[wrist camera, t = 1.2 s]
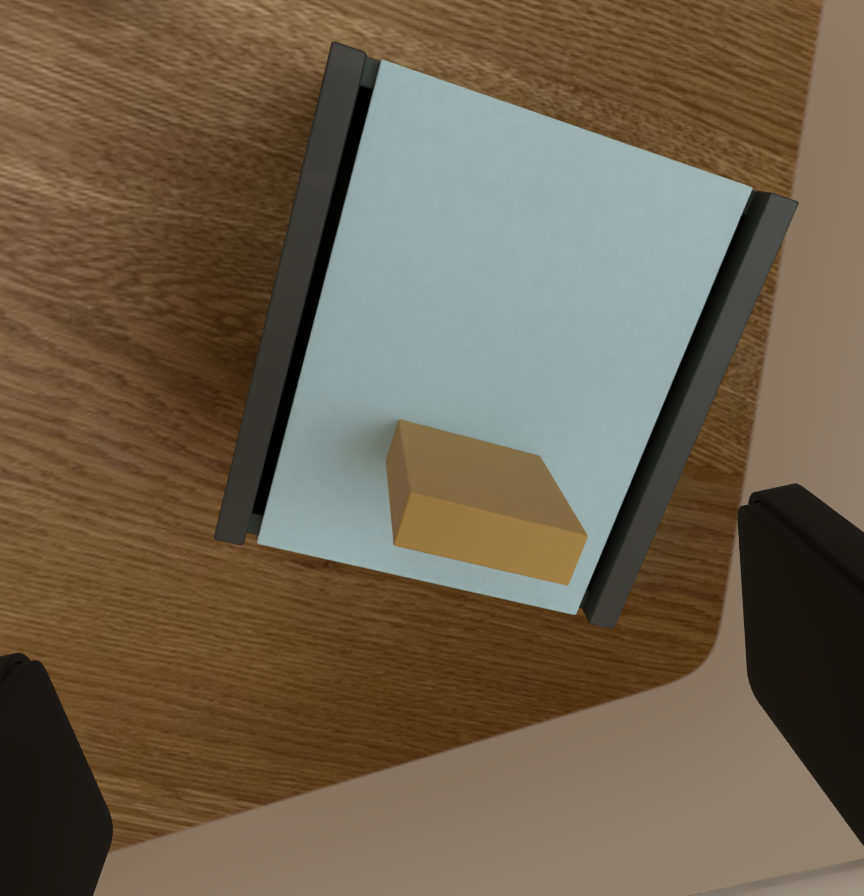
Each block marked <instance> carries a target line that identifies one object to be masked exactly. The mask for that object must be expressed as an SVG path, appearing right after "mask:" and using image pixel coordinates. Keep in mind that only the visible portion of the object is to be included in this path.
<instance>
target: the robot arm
mask: <svg viewBox="0 0 864 896" xmlns="http://www.w3.org/2000/svg"><path fill="white" fill-rule="evenodd" d="M738 534H739V550H740V565H741V581H742V597H743V614H744V628H745V646H746V661H747V674H748V679H749V683H750V686H751V689H752V691H753V693H754V696H755V697H756V699H757V700H758V702H759V704H760V705H761V706H762V707H763V709H764V710H765V712H766V713H767V714H768V716H769V717H770V719H771V720H772V721H773V723H774V724H775V725H776V727H777V728H778V729H779V731H780V732H781V733H782V735H783V736H784V738H785V739H786V740H787V742H788V743H789V745H790V746H791V747H792V749H793V750H794V751H795V753H796V754H797V756H798V757H799V758H800V760H801V761H802V762H803V764H804V765H805V766H806V768H807V769H808V770H809V772H810V773H811V775H812V776H813V777H814V779H815V780H816V781H817V783H818V784H819V786H820V787H821V788H822V790H823V791H824V792H825V794H826V795H827V797H828V798H829V799H830V801H831V802H832V803H833V805H834V806H835V807H836V809H837V810H838V811H839V813H840V814H841V816H842V817H843V818H844V820H845V821H846V823H847V824H848V825H849V827H850V828H851V829H852V831H853V832H854V833H855V835H856V836H857V838H858V839H859V840H860V842H861V843H862V844H863V845H864V532H863V531H861V530H860V529H858V528H857V527H856V526H854V525H853V524H852V523H851V522H849V521H848V520H847V519H845V518H844V517H843V516H841V515H840V514H838V513H837V512H836V511H834V510H833V509H832V508H830V507H829V506H828V505H827V504H825V503H824V502H823V501H821V500H820V499H819V498H817V497H816V496H814V495H813V494H812V493H811V492H809V491H808V490H806V489H805V488H804V487H803V486H801V485H799V484H797V483H796V484H790V485H785V486H781V487H776V488H771V489H767V490H762V491H758V492H754V493H752V494H751V496H750V498H749V503H748V505H744V506H741V507H740V508H739V510H738ZM112 835H113V825H112V819H111V815H110V812H109V810H108V807H107V805H106V803H105V801H104V798H103V796H102V794H101V792H100V789H99V787H98V785H97V783H96V781H95V778H94V776H93V774H92V772H91V769H90V767H89V765H88V763H87V760H86V758H85V756H84V754H83V751H82V749H81V747H80V745H79V743H78V740H77V738H76V736H75V734H74V731H73V729H72V727H71V725H70V722H69V720H68V718H67V716H66V713H65V711H64V709H63V707H62V705H61V702H60V700H59V698H58V696H57V693H56V691H55V689H54V687H53V684H52V682H51V680H50V678H49V675H48V673H47V671H46V669H45V667H44V666H43V664H42V663H40V662H39V661H36V660H34V661H30V659H29V658H28V657H27V656H25V655H24V654H22V653H14V654H10V655H5V656H1V657H0V896H93V894H94V891H95V888H96V885H97V882H98V879H99V877H100V874H101V871H102V868H103V865H104V863H105V860H106V857H107V854H108V851H109V848H110V845H111V841H112ZM690 896H864V858H863V859H859V860H854V861H850V862H845V863H840V864H836V865H831V866H827V867H821V868H816V869H812V870H807V871H801V872H796V873H791V874H786V875H781V876H777V877H773V878H768V879H763V880H759V881H754V882H750V883H745V884H740V885H736V886H731V887H727V888H722V889H718V890H713V891H709V892H704V893H699V894H695V895H690Z"/></svg>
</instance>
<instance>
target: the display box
mask: <svg viewBox="0 0 864 896" xmlns="http://www.w3.org/2000/svg"><path fill="white" fill-rule="evenodd" d="M380 62H381V61H379V60H376V59H373V58H370V57H367V54H366V53H365V52H364V51H361V50H358V49H355V48H353V47H350V46H347V45H344V44H341V43H338V42H332V43H331V47H330V51H329V55H328V60H327V64H326V68H325V72H324V76H323V81H322V85H321V89H320V93H319V97H318V102H317V106H316V110H315V114H314V118H313V123H312V127H311V131H310V135H309V139H308V144H307V148H306V152H305V156H304V160H303V165H302V169H301V173H300V177H299V181H298V186H297V190H296V194H295V198H294V203H293V207H292V211H291V215H290V219H289V224H288V228H287V232H286V236H285V240H284V245H283V249H282V253H281V257H280V261H279V266H278V270H277V274H276V278H275V282H274V287H273V291H272V295H271V299H270V303H269V308H268V312H267V316H266V320H265V324H264V329H263V333H262V337H261V341H260V345H259V350H258V354H257V358H256V362H255V366H254V371H253V375H252V379H251V383H250V387H249V392H248V396H247V400H246V404H245V409H244V413H243V417H242V421H241V425H240V430H239V434H238V438H237V442H236V446H235V451H234V455H233V459H232V463H231V467H230V472H229V476H228V480H227V484H226V488H225V493H224V497H223V501H222V505H221V509H220V514H219V518H218V522H217V526H216V530H215V535H214V539H215V540H219V541H223V542H228V543H232V544H237V545H243V544H244V542H245V538H246V534H247V533H250V534H254V535H259V532H260V528H261V524H262V520H263V516H264V512H265V508H266V504H267V501H268V497H269V493H270V489H271V485H272V481H273V477H274V473H275V470H276V466H277V462H278V458H279V454H280V450H281V446H282V442H283V438H284V435H285V431H286V427H287V423H288V419H289V415H290V411H291V407H292V404H293V400H294V396H295V392H296V388H297V384H298V380H299V376H300V372H301V369H302V365H303V361H304V357H305V353H306V349H307V345H308V341H309V338H310V334H311V330H312V326H313V322H314V318H315V314H316V310H317V307H318V303H319V299H320V295H321V291H322V287H323V283H324V279H325V275H326V272H327V268H328V264H329V260H330V256H331V252H332V248H333V244H334V241H335V237H336V233H337V229H338V225H339V221H340V217H341V213H342V209H343V206H344V202H345V198H346V194H347V190H348V186H349V182H350V178H351V175H352V171H353V167H354V163H355V159H356V155H357V151H358V147H359V144H360V140H361V136H362V132H363V128H364V124H365V120H366V116H367V112H368V109H369V105H370V101H371V97H372V93H373V89H374V85H375V81H376V78H377V74H378V70H379V66H380ZM798 204H799V203H798V201H795V200H792V199H789V198H786V197H783V196H780V195H778V194H775V193H771V192H762V191H755V190H752V191H751V193H750V196H749V198H748V200H747V203H746V205H745V208H744V210H743V213H742V215H741V217H740V220H739V222H738V225H737V227H736V229H735V232H734V234H733V237H732V239H731V241H730V244H729V246H728V249H727V251H726V254H725V256H724V258H723V261H722V263H721V266H720V268H719V270H718V273H717V275H716V278H715V280H714V282H713V285H712V287H711V290H710V292H709V295H708V297H707V299H706V302H705V304H704V307H703V309H702V311H701V314H700V316H699V319H698V321H697V324H696V326H695V328H694V331H693V333H692V336H691V338H690V340H689V343H688V345H687V348H686V350H685V352H684V355H683V357H682V360H681V362H680V365H679V367H678V369H677V372H676V374H675V377H674V379H673V381H672V384H671V386H670V389H669V391H668V393H667V396H666V398H665V401H664V403H663V406H662V408H661V410H660V413H659V415H658V418H657V420H656V422H655V425H654V427H653V430H652V432H651V434H650V437H649V439H648V442H647V444H646V447H645V449H644V451H643V454H642V456H641V459H640V461H639V463H638V466H637V468H636V471H635V473H634V475H633V478H632V480H631V483H630V485H629V488H628V490H627V492H626V495H625V497H624V500H623V502H622V504H621V507H620V509H619V512H618V514H617V516H616V519H615V521H614V524H613V526H612V529H611V531H610V533H609V536H608V538H607V541H606V543H605V545H604V548H603V550H602V553H601V555H600V558H599V560H598V562H597V565H596V567H595V570H594V572H593V574H592V577H591V579H590V582H589V584H588V586H587V589H586V591H585V594H584V596H583V599H582V601H581V603H580V606H579V608H581V609H583V612H584V614H585V616H586V618H587V620H588V622H589V623H590V624H594V625H598V626H603V627H607V628H612V629H614V627H615V625H616V622H617V620H618V618H619V616H620V613H621V611H622V609H623V606H624V604H625V602H626V599H627V597H628V595H629V593H630V590H631V588H632V586H633V583H634V581H635V579H636V576H637V574H638V572H639V570H640V567H641V565H642V563H643V560H644V558H645V556H646V553H647V551H648V549H649V547H650V544H651V542H652V540H653V537H654V535H655V533H656V530H657V528H658V526H659V524H660V521H661V519H662V517H663V514H664V512H665V510H666V507H667V505H668V503H669V501H670V498H671V496H672V494H673V491H674V489H675V487H676V484H677V482H678V480H679V478H680V475H681V473H682V471H683V468H684V466H685V464H686V461H687V459H688V457H689V455H690V452H691V450H692V448H693V445H694V443H695V441H696V439H697V436H698V434H699V432H700V429H701V427H702V425H703V422H704V420H705V418H706V416H707V413H708V411H709V409H710V406H711V404H712V402H713V399H714V397H715V395H716V393H717V390H718V388H719V386H720V383H721V381H722V379H723V376H724V374H725V372H726V370H727V367H728V365H729V363H730V360H731V358H732V356H733V353H734V351H735V349H736V347H737V344H738V342H739V340H740V337H741V335H742V333H743V330H744V328H745V326H746V324H747V321H748V319H749V317H750V314H751V312H752V310H753V307H754V305H755V303H756V301H757V298H758V296H759V294H760V291H761V289H762V287H763V284H764V282H765V280H766V278H767V275H768V273H769V271H770V268H771V266H772V264H773V261H774V259H775V257H776V255H777V252H778V250H779V248H780V245H781V243H782V241H783V239H784V236H785V234H786V232H787V229H788V227H789V225H790V222H791V220H792V218H793V216H794V213H795V210H796V209H797V206H798Z"/></svg>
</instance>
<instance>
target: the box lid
mask: <svg viewBox="0 0 864 896" xmlns="http://www.w3.org/2000/svg"><path fill="white" fill-rule="evenodd" d="M751 191H752V187H750V186H747V185H744V184H741V183H739V182H736V181H733V180H730V179H727V178H724V177H721V176H718V175H715V174H712V173H710V172H707V171H704V170H701V169H698V168H695V167H692V166H689V165H686V164H684V163H681V162H678V161H675V160H672V159H669V158H666V157H663V156H660V155H658V154H655V153H652V152H649V151H646V150H643V149H640V148H637V147H634V146H632V145H629V144H626V143H623V142H620V141H617V140H614V139H611V138H608V137H605V136H603V135H600V134H597V133H594V132H591V131H588V130H585V129H582V128H579V127H577V126H574V125H571V124H568V123H565V122H562V121H559V120H556V119H553V118H551V117H548V116H545V115H542V114H539V113H536V112H533V111H530V110H527V109H525V108H522V107H519V106H516V105H513V104H510V103H507V102H504V101H501V100H499V99H496V98H493V97H490V96H487V95H484V94H481V93H478V92H475V91H472V90H470V89H467V88H464V87H461V86H458V85H455V84H452V83H449V82H446V81H444V80H441V79H438V78H435V77H432V76H429V75H426V74H423V73H420V72H418V71H415V70H412V69H409V68H406V67H403V66H400V65H397V64H394V63H392V62H389V61H386V60H381V62H380V66H379V70H378V74H377V78H376V81H375V85H374V89H373V93H372V97H371V101H370V105H369V109H368V112H367V116H366V120H365V124H364V128H363V132H362V136H361V140H360V144H359V147H358V151H357V155H356V159H355V163H354V167H353V171H352V175H351V178H350V182H349V186H348V190H347V194H346V198H345V202H344V206H343V209H342V213H341V217H340V221H339V225H338V229H337V233H336V237H335V241H334V244H333V248H332V252H331V256H330V260H329V264H328V268H327V272H326V275H325V279H324V283H323V287H322V291H321V295H320V299H319V303H318V307H317V310H316V314H315V318H314V322H313V326H312V330H311V334H310V338H309V341H308V345H307V349H306V353H305V357H304V361H303V365H302V369H301V372H300V376H299V380H298V384H297V388H296V392H295V396H294V400H293V404H292V407H291V411H290V415H289V419H288V423H287V427H286V431H285V435H284V438H283V442H282V446H281V450H280V454H279V458H278V462H277V466H276V470H275V473H274V477H273V481H272V485H271V489H270V493H269V497H268V501H267V504H266V508H265V512H264V516H263V520H262V524H261V528H260V532H259V535H258V539H257V544H261V545H265V546H270V547H274V548H279V549H283V550H288V551H292V552H297V553H301V554H305V555H310V556H314V557H319V558H323V559H328V560H332V561H337V562H341V563H346V564H350V565H354V566H359V567H363V568H368V569H372V570H377V571H381V572H386V573H390V574H395V575H399V576H403V577H408V578H412V579H417V580H421V581H426V582H430V583H435V584H439V585H443V586H448V587H452V588H457V589H461V590H466V591H470V592H475V593H479V594H484V595H488V596H492V597H497V598H501V599H506V600H510V601H515V602H519V603H524V604H528V605H533V606H537V607H541V608H546V609H550V610H555V611H559V612H564V613H568V614H573V615H576V613H577V611H578V608H579V606H580V603H581V601H582V599H583V596H584V594H585V591H586V589H587V586H588V584H589V582H590V579H591V577H592V574H593V572H594V570H595V567H596V565H597V562H598V560H599V558H600V555H601V553H602V550H603V548H604V545H605V543H606V541H607V538H608V536H609V533H610V531H611V529H612V526H613V524H614V521H615V519H616V516H617V514H618V512H619V509H620V507H621V504H622V502H623V500H624V497H625V495H626V492H627V490H628V488H629V485H630V483H631V480H632V478H633V475H634V473H635V471H636V468H637V466H638V463H639V461H640V459H641V456H642V454H643V451H644V449H645V447H646V444H647V442H648V439H649V437H650V434H651V432H652V430H653V427H654V425H655V422H656V420H657V418H658V415H659V413H660V410H661V408H662V406H663V403H664V401H665V398H666V396H667V393H668V391H669V389H670V386H671V384H672V381H673V379H674V377H675V374H676V372H677V369H678V367H679V365H680V362H681V360H682V357H683V355H684V352H685V350H686V348H687V345H688V343H689V340H690V338H691V336H692V333H693V331H694V328H695V326H696V324H697V321H698V319H699V316H700V314H701V311H702V309H703V307H704V304H705V302H706V299H707V297H708V295H709V292H710V290H711V287H712V285H713V282H714V280H715V278H716V275H717V273H718V270H719V268H720V266H721V263H722V261H723V258H724V256H725V254H726V251H727V249H728V246H729V244H730V241H731V239H732V237H733V234H734V232H735V229H736V227H737V225H738V222H739V220H740V217H741V215H742V213H743V210H744V208H745V205H746V203H747V200H748V198H749V196H750V193H751Z"/></svg>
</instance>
